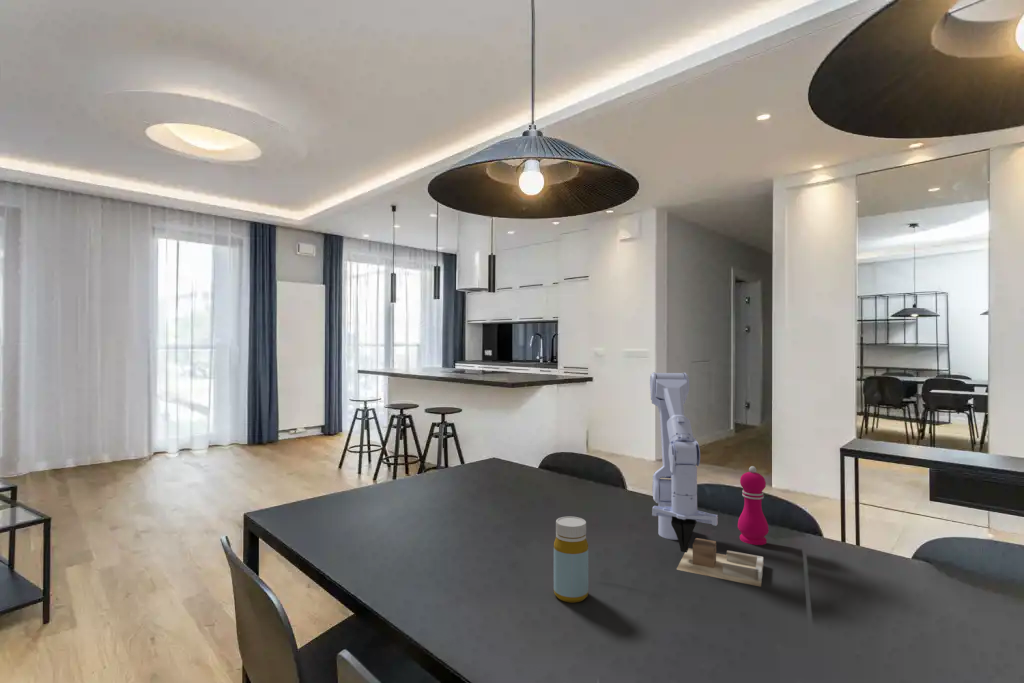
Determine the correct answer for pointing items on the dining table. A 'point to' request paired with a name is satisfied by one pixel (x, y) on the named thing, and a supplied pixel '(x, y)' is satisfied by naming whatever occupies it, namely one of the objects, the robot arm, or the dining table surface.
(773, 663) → the dining table surface
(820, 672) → the dining table surface
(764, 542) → the pepper mill
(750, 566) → the board
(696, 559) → the block
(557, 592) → the bottle
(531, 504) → the dining table surface
